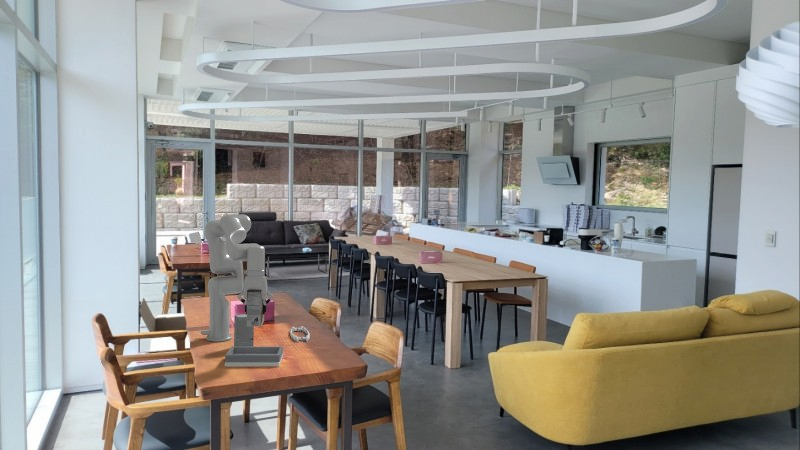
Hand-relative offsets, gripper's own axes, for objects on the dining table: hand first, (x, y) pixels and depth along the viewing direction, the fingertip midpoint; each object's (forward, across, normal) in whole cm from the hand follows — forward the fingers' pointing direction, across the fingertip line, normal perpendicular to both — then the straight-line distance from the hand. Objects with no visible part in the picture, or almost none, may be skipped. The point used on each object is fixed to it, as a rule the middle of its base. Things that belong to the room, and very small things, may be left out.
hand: (255, 313), depth 249 cm
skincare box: (+22, -8, +20) cm, 31 cm away
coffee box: (+5, 0, 0) cm, 5 cm away
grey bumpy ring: (+22, +16, +42) cm, 50 cm away
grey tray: (+21, 0, 0) cm, 21 cm away
